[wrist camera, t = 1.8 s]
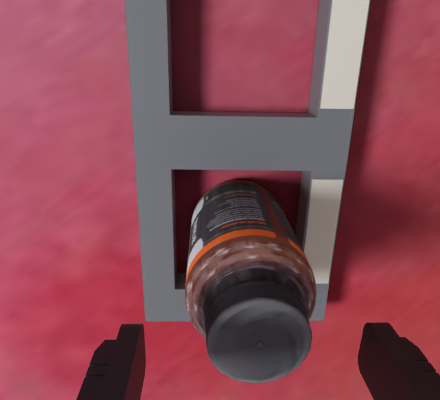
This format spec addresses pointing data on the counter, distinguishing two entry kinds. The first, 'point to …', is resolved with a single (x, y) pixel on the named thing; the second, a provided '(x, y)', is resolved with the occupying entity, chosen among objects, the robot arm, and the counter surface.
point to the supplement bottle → (248, 283)
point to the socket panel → (240, 144)
